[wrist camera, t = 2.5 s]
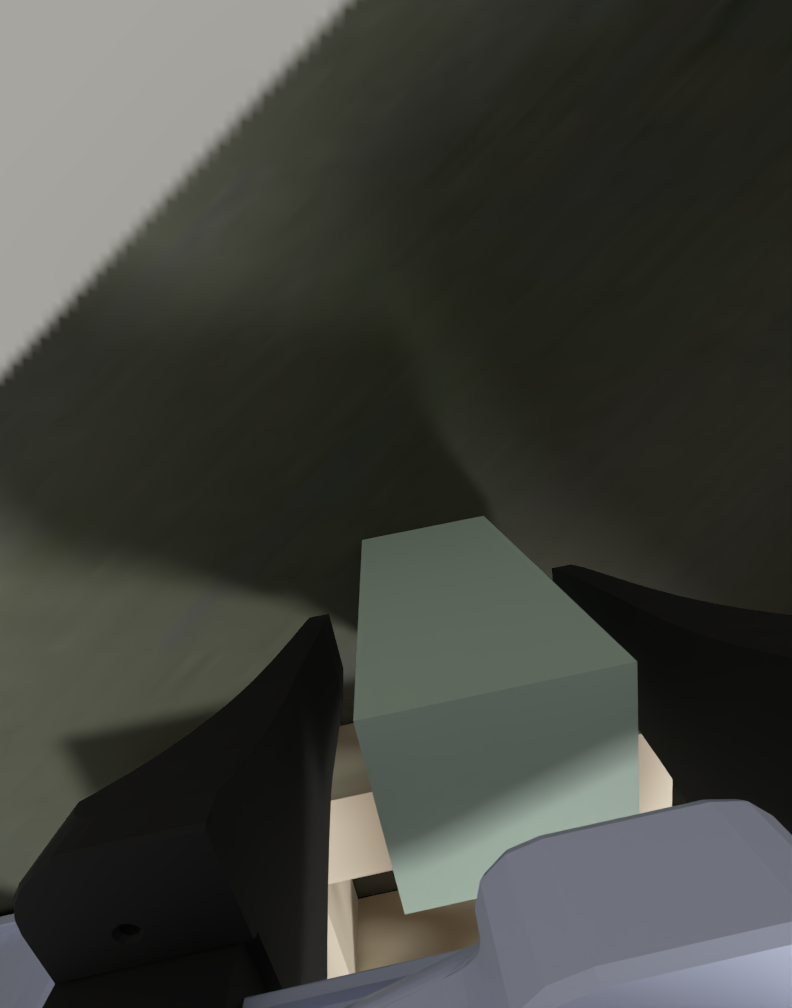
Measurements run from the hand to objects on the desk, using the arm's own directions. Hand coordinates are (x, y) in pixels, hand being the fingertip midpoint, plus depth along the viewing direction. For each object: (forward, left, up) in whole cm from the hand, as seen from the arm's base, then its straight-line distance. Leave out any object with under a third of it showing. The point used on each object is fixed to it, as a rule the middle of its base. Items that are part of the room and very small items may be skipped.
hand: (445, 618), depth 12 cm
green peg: (0, 0, -2) cm, 2 cm away
